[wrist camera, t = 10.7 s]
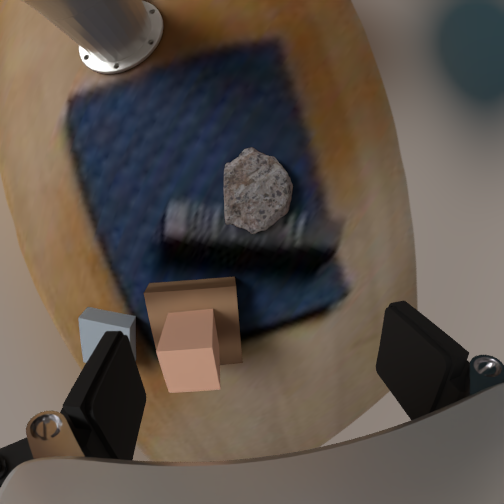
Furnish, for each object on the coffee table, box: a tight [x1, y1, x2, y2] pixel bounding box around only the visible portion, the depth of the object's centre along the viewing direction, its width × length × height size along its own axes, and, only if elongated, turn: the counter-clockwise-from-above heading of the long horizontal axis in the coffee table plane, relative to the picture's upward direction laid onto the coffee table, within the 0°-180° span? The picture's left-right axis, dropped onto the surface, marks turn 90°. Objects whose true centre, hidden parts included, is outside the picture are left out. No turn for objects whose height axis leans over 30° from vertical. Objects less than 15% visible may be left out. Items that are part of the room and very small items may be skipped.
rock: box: [224, 147, 293, 234], centre depth 37 cm, size 9×11×4 cm
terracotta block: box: [156, 309, 220, 393], centre depth 34 cm, size 6×6×9 cm
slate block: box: [79, 307, 136, 363], centre depth 40 cm, size 8×8×4 cm
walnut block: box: [144, 277, 243, 365], centre depth 41 cm, size 12×12×4 cm
